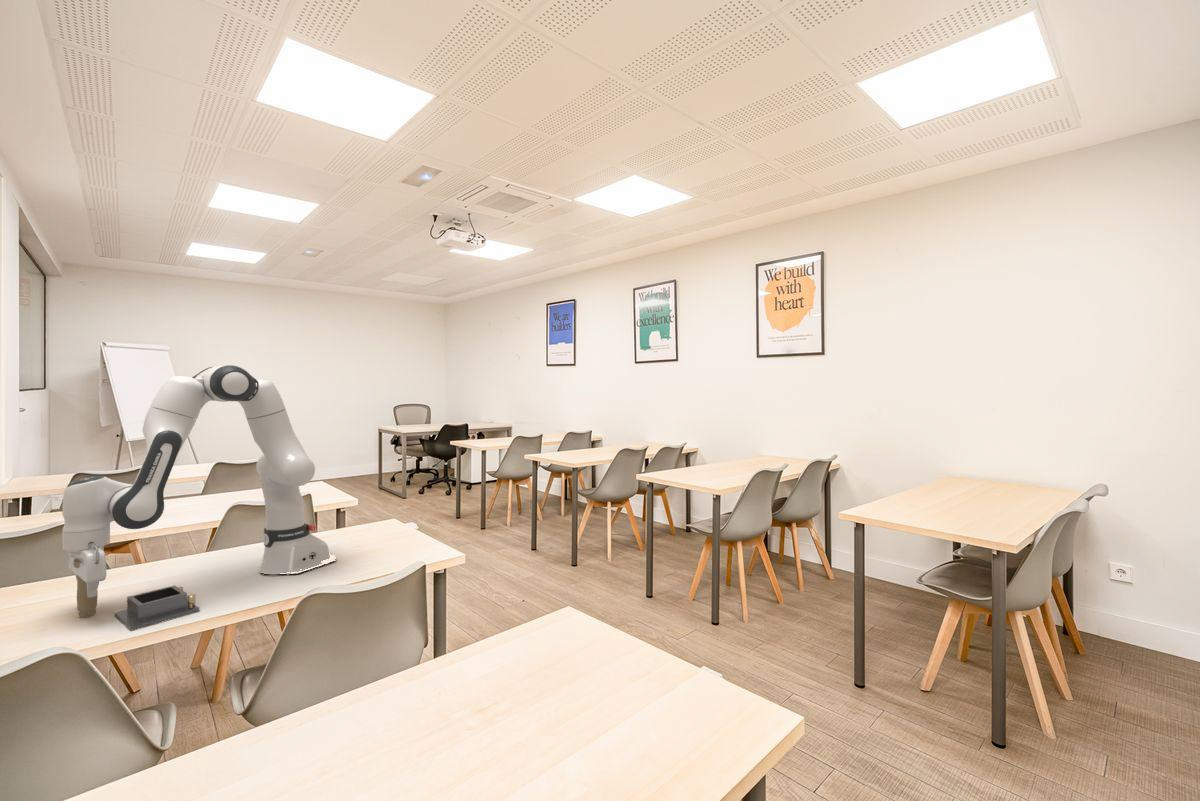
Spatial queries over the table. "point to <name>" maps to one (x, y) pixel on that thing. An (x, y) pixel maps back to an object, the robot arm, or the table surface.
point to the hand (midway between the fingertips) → (87, 592)
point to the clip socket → (156, 607)
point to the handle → (84, 597)
